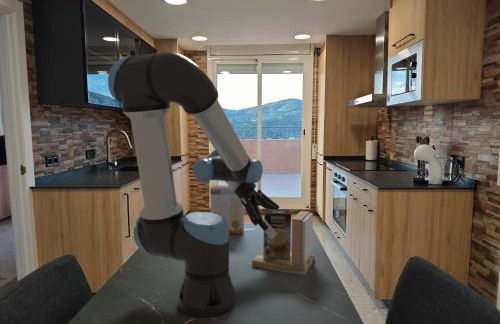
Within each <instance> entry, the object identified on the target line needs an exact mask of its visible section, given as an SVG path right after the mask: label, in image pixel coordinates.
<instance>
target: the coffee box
mask: <svg viewBox="0 0 500 324" xmlns="http://www.w3.org/2000/svg"><path fill="white" fill-rule="evenodd" d="M263 210H264V213H263V219H265V220H266V221H267V222H268V223H269V225H270V226H271V227H272V228H273V229H274V230H275V232H276V233H277V235H276V236H275V237H274V238H272V239H270V238H269V236H268V235H267V234H266V233H265V232H264V231H263V247H262V248H263V249H262V251H263V257H264V259H279V260H290V250H291V245H292V212H291V210H290V209H283V208H282V209H280V208H279V209H265V208H264V209H263Z"/></svg>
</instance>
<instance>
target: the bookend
mask: <svg viewBox="0 0 500 324" xmlns="http://www.w3.org/2000/svg"><path fill="white" fill-rule="evenodd" d="M313 220H314V214H313V212H309V215H308V216H307V217H306V218H305V219H304V220H303V221H302V251H301V265H295V264H292V265H294V266H299V267H305V265H306V264H307V262H308V261H309V259H310V258H311V256H312V254H313V229H314V227H313V225H314V221H313Z"/></svg>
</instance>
